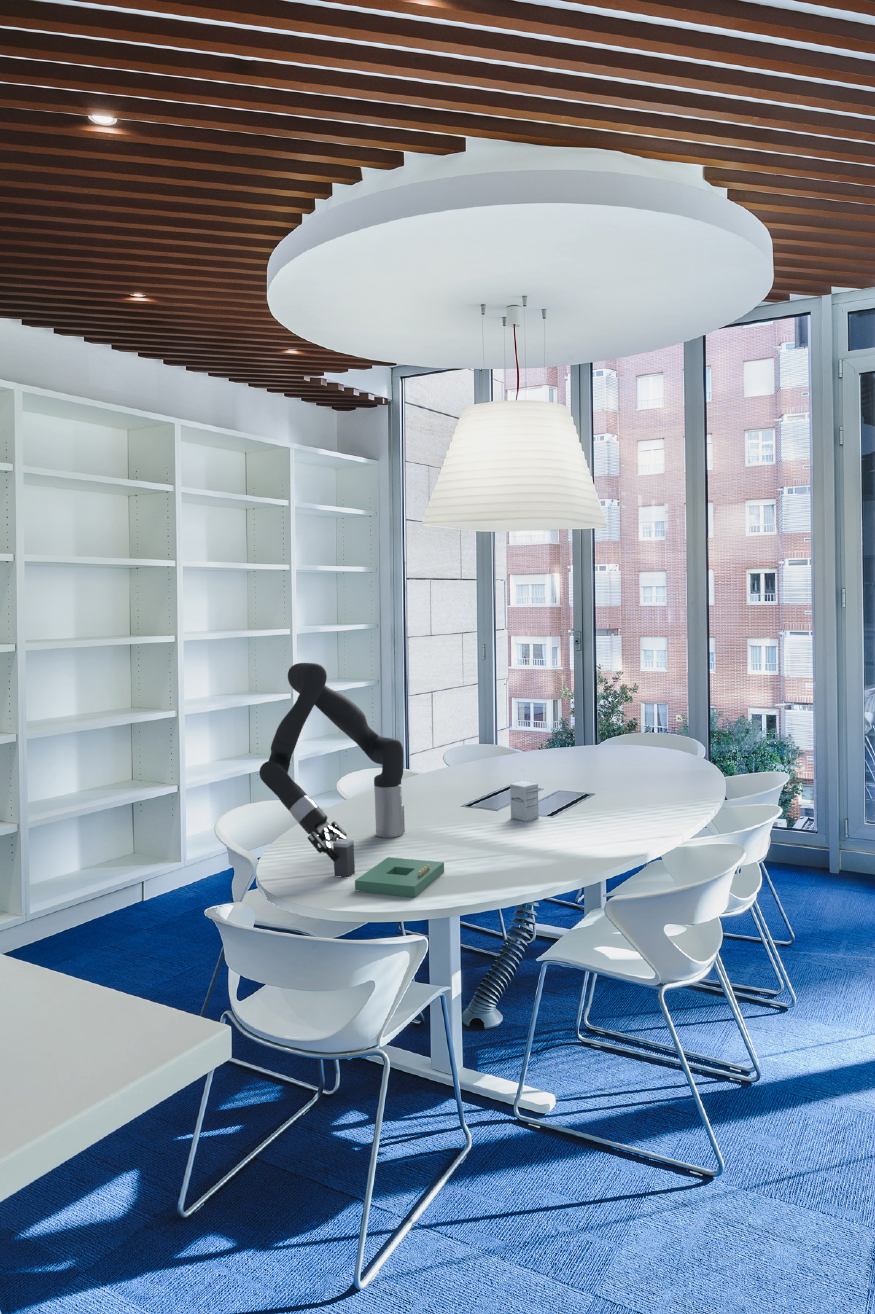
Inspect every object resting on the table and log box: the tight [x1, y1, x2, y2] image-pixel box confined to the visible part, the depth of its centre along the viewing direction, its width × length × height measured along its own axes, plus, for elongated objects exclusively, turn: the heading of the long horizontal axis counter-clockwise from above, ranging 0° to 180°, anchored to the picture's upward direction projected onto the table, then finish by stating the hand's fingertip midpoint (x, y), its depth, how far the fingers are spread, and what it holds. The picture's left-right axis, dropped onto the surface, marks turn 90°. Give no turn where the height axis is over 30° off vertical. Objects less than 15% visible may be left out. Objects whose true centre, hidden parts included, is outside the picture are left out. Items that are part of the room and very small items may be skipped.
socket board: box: [354, 857, 445, 898], centre depth 250 cm, size 22×18×4 cm
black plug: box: [332, 838, 356, 878], centre depth 257 cm, size 4×4×10 cm
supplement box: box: [509, 780, 540, 822], centre depth 314 cm, size 7×7×13 cm
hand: (344, 855), depth 257 cm, fingers open, 8 cm apart
